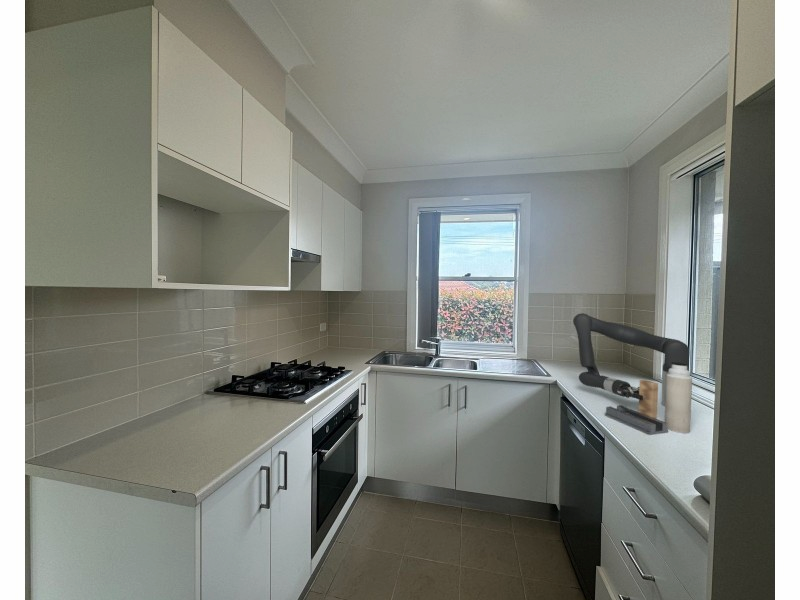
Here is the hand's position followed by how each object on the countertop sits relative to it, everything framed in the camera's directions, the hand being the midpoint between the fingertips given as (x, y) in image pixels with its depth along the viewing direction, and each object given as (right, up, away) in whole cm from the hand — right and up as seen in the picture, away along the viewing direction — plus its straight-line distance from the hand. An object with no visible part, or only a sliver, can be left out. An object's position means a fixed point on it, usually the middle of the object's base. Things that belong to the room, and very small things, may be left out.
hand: (649, 397), depth 142 cm
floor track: (-12, -9, -7) cm, 17 cm away
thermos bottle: (+2, -10, -12) cm, 16 cm away
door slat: (0, -9, +1) cm, 9 cm away
